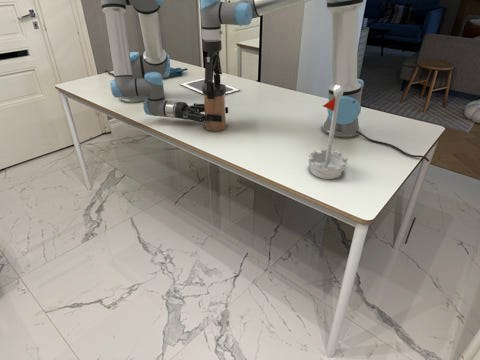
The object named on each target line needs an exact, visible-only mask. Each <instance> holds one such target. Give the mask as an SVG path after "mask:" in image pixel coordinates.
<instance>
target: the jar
mask: <svg viewBox="0 0 480 360" xmlns="http://www.w3.org/2000/svg"><path fill="white" fill-rule="evenodd" d="M203 104H204V110H205V112H204V114H205V115H206V116H207V114H212V115H222V122H216V121H207V122H206V123H204V124H205V129H206V130H207V131H210V132H219V131H223V130H225V129H226V127H227V121H226V120H227V118H226V115H227V113H225V107H226V95H225V94H223V95H219V96H214V99H207V95H203Z"/></svg>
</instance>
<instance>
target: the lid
mask: <svg viewBox="0 0 480 360" xmlns="http://www.w3.org/2000/svg"><path fill="white" fill-rule="evenodd" d="M221 83H222V82H220V83H213V85H214V96H219V95H223V94H225V93H226V86H225V85H224V84H225V83H223V84H221ZM202 92H203V94H204V95H207V84H205V85H203V86H202ZM203 94H202V95H203ZM204 95H203V96H204Z"/></svg>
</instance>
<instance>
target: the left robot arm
mask: <svg viewBox="0 0 480 360" xmlns="http://www.w3.org/2000/svg"><path fill="white" fill-rule="evenodd" d="M163 4H164V0H100V6H101V12H102V13H104V15H105V23H106V28H107V35H108V42H109V50H110V55H111V62H112V69H113V73H112V72H110V71H109V70H107V69H105V71H104V73H108V74H109V75H111V76H113V77H114V79H112V80H110V91H111V95H112V96H113V97H114V98H120V99H119V100H120V101H121V102H123V103H126V104H127V103H128V104H134V103H141V102H142V103H143V112H144V113H145V114H146V115H148V116H153V117H162V118H171V119H179V120H180V119H181V120H187V121H188V120H189V121H193V122H198V123H204V124H205V123H206V122H207V121H216V122H222V115H212V114H207V116H206V115H205V110H204V103H197V102H196V103H195V102H194V103H193V105H188V103H187V102H186V101H177V100H166V97H165V96H166V95H165V88H164V87H165V86H164V81H163V78H169V77H170V76H169V75H170V67H171V57H170V54H168V53H167V52H166V51H165V49H163V42H162V34H161V26H160V20H159V11H160V10H161V6H162V5H163ZM127 6H132V7H133V10H134V11H135V12H136V13H137V14H138V20H139V26H140V30H141V35H142V41H143V47H144V51H143V54H142V55H141V54H140V52H138V51H130V46H129V45H130V44H129V39H128V32H127V23H126V17H125V13H126V12H127ZM225 114H229V107H228V106H225Z"/></svg>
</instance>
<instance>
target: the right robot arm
mask: <svg viewBox="0 0 480 360" xmlns="http://www.w3.org/2000/svg"><path fill="white" fill-rule="evenodd" d="M310 1H312V0H238V1H231V2H230V1H228V2H227V1H221V0H200V1H199V2H200V5H199V6H200V8H199V11H200V21H201V39H202V42H201V43H202V51H204V52H206V53H207V56H205V57H204V60H205V61H204V62H205V64H204V65H205V67H204V78H205V82H204V84H207V99H214V85H213V80H214V83H221V75H223V71H222V64H221V57H220V52H221V51H222V49H223V48H222V40H221V39H222V35H223V31H222V25H232V26H240V27H241V26H249V25H250V24H251V23H252V21H253V19H256V18H258V17H262V16H265V15H269V14H271V13H275V12H278V11H281V10H284V9H287V8H291V7H295V6H297V5H301V4H303V3H307V2H310ZM363 4H364V0H326V9H327V10H328V11H330V13H331V59H332V60H331V61H332V62H331V65H332V66H331V67H332V68H331V69H332V82H331V84H330V85H329V86H328V102H329V101H331V100H332V99H334V98H335V96H334V90H335V89H336V88H341V89H342V90H343V95H342V96H341V97H340V101H339V107H338V113H337V120H336V126H335V132H334V137H335V138H339V139H341V138H342V139H349V138H354V137H356V136H357V135H360V136H362V137H363V138H364V139H366V140H368V141H369V142H372V143H376V144H381V145H386V146H389V147H392V148H394V149H396V150H397V151H399V152H400V153H402V154H404V155H407V156H408V157H411V158H422V159H424V160H426V162H430V159H429V158H428V157H427V156H425V155H420V154H419V155H415V154H411V153H408V152H405V151H404V150H402V149H401V148H400V147H398V146H396V145H394V144H391V143H388V142H384V141H379V140H375V139H372V138H369V137H368V136H366V135H365V134H364V133H361V131H360V125H359V115H361V111H362V107H361V105H362V95H363V90H364V88H365V87H364V84H365V82H364V80H363V79H360V78H358V47H359V46H358V43H359V42H358V41H359V8H361V6H362V5H363ZM209 80H210V81H209ZM326 111H327V117H326V120H325V121H324V123H323V126H322V130H323V132H324V133H325V134H326V135H329V134H330V127H331V121H332V114H333V111H332V110H330V109H328V108H326ZM416 219H417V217H414V218H413V219H412V222H411V225H410V227H409V230H408V233H407V236H406V239H405V240H404V244H405V245H407V243H408V241H409V238H410V234H411V232H412V229H413V227H414V224H415V222H416Z"/></svg>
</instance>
